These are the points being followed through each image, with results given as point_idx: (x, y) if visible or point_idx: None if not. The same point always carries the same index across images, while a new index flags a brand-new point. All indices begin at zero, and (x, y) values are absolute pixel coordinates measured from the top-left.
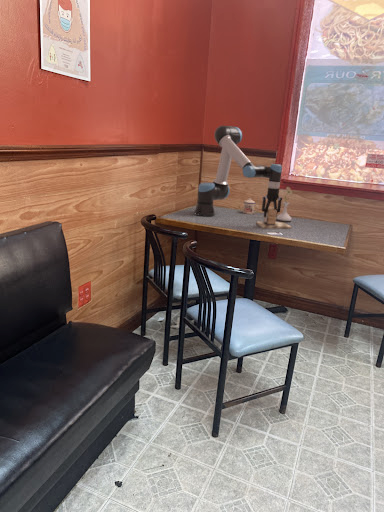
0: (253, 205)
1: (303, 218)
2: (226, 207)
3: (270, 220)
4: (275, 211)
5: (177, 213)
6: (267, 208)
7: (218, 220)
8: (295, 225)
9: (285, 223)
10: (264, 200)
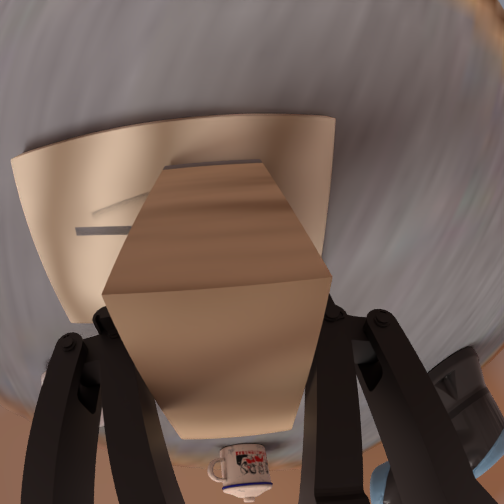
0: (233, 477)
1: (23, 405)
2: (292, 463)
3: (240, 176)
4: (147, 266)
5: (495, 348)
6: (332, 372)
7: (472, 302)
8: (5, 291)
9: (53, 286)
10: (470, 484)
